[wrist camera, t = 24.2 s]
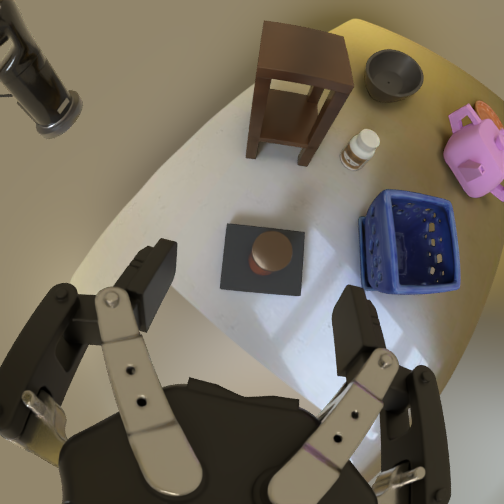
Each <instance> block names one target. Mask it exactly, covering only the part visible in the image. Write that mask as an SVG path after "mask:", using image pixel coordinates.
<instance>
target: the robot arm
mask: <svg viewBox="0 0 504 504" xmlns="http://www.w3.org/2000/svg"><path fill="white" fill-rule="evenodd" d="M9 39H10V40H11V41H12V45H11V47H10V49H9V50H8V52H7V53H6V55H5V56H4V57H3V59H2V61H1V62H0V82H1V83H2V84H3V85H4V86H5V88H6V89H7V90H8V91H9V92H10V93H11V94H6V95H0V97H14V98H15V99H16V100H17V103H18V105H19V106H20V107H21V108H22V109H23V110H24V111H25V112H26V113H27V114H28V116H30V118H31V119H33V121H34V122H35V123H36V124H37V125H40V126H41V127H42V128H43V129H50V128H53V127H55V126H57V125H58V124H60V123H61V122H62V121H63V120H64V119H65V118H66V117H67V116H68V114H69V113H70V111H71V110H72V108H73V105H74V98H73V96H72V95H71V94H70V93H69V91H68V90H67V88H66V87H65V86H64V84H63V82H62V81H61V79H60V78H59V76H58V75H57V73H56V72H55V70H54V69H53V68H52V66H51V64H50V63H49V62H48V60H47V58H46V57H45V55H44V54H43V52H42V50H41V49H40V47H39V45H38V44H37V42H36V41H35V39H34V37H33V36H32V34H31V32H30V30H29V29H28V27H27V25H26V23H25V21H24V19H23V16H22V14H21V12H20V10H19V8H18V6H17V4H16V2H15V0H0V47H1V46H2V45H3V44H4V43H5V42H7V41H8V40H9ZM176 258H177V242H175V241H171V240H167V239H163V238H161V239H160V240H159V241H158V242H157V244H156V245H155V246H154V247H150V246H147V247H145V248H144V249H142V250H140V251H139V252H138V253H137V255H136V256H135V257H134V260H132V261H131V263H130V265H129V266H128V267H127V268H126V269H125V271H124V272H123V274H122V275H121V276H120V278H119V279H118V280H117V282H116V283H115V285H114V286H113V287H107V288H104V289H102V290H101V291H99V292H98V294H97V295H83V294H78V293H77V289H76V288H75V287H74V286H73V285H71V284H68V283H61V284H58V285H56V286H54V287H52V288H51V289H50V291H49V292H48V293H47V295H46V296H45V297H44V299H43V300H42V302H41V303H40V304H39V306H38V307H37V308H36V310H35V311H34V313H33V314H32V316H31V317H30V319H29V320H28V322H27V323H26V325H25V326H24V328H23V329H22V331H21V333H20V334H19V336H18V337H17V339H16V341H15V342H14V344H13V346H12V348H11V349H10V351H9V352H8V354H7V356H6V358H5V360H4V361H3V363H2V365H1V367H0V435H1V436H2V437H3V438H5V439H6V440H8V441H10V442H11V443H14V444H15V445H16V446H18V447H20V448H23V449H25V450H27V451H29V452H31V453H34V454H35V455H37V456H38V457H40V458H42V459H43V460H45V461H47V462H48V463H50V464H52V465H54V466H56V467H57V468H59V472H60V477H61V482H62V491H63V500H62V504H448V502H449V500H450V497H451V478H450V463H449V453H448V444H447V436H446V429H445V422H444V416H443V411H442V405H441V400H440V395H439V391H438V386H437V382H436V378H435V375H434V373H433V372H432V371H431V370H430V369H429V368H428V367H426V366H424V365H419V366H417V367H415V368H414V369H413V370H409V369H407V368H404V367H402V366H400V365H399V363H398V360H397V358H396V356H395V355H394V354H393V353H392V352H391V351H389V350H388V349H386V345H385V341H384V337H383V333H382V330H381V326H380V322H379V319H378V315H377V311H376V308H375V307H374V305H373V304H372V303H371V301H370V300H367V299H366V295H365V291H364V289H363V288H361V287H357V286H353V285H347V286H346V287H345V289H344V291H343V293H342V294H341V296H340V298H339V300H338V302H337V303H336V305H335V307H334V309H333V313H332V326H333V334H334V344H335V354H336V365H337V376H343V377H346V382H345V383H344V384H343V386H342V387H341V388H340V389H339V391H338V392H337V393H336V394H335V396H334V397H333V398H332V399H331V400H330V402H329V403H328V404H327V405H326V406H325V408H324V409H323V410H322V411H321V412H320V413H319V414H318V415H317V416H316V417H315V416H314V415H313V414H311V413H310V412H308V411H306V410H305V409H303V408H300V407H299V399H292V398H285V397H278V396H262V397H261V396H260V397H243V396H241V395H238V394H236V393H234V392H232V391H230V390H227V389H225V388H223V387H221V386H219V385H217V384H213V383H209V382H205V381H201V380H198V379H194V378H190V377H189V380H188V384H175V385H169V386H166V387H161V384H160V382H159V379H158V377H157V374H156V372H155V369H154V366H153V364H152V361H151V358H150V356H149V353H148V350H147V347H146V344H145V342H144V339H143V336H142V335H140V332H139V330H140V331H143V332H146V333H147V331H148V329H149V327H150V325H151V323H152V321H153V319H154V317H155V314H156V313H157V311H158V308H159V307H160V305H161V303H162V301H163V299H164V297H165V295H166V293H167V291H168V289H169V287H170V285H171V283H172V281H173V279H174V276H175V272H176ZM89 344H90V345H101V346H102V351H103V355H104V360H105V364H106V368H107V372H108V376H109V379H110V383H111V386H112V390H113V393H114V397H115V400H116V403H117V406H118V409H119V412H117V413H116V414H113V415H112V416H110V417H108V418H106V419H104V420H102V421H100V422H99V423H97V424H95V425H93V426H91V427H89V428H87V429H85V430H83V431H81V432H79V433H77V434H75V435H73V436H72V437H70V438H69V439H67V437H66V434H65V426H66V416H65V413H64V411H63V409H62V408H61V405H62V402H63V400H64V397H65V395H66V392H67V390H68V388H69V386H70V383H71V381H72V379H73V377H74V374H75V372H76V370H77V368H78V366H79V364H80V362H81V359H82V357H83V355H84V353H85V351H86V349H87V347H88V345H89ZM409 408H411V416H412V425H411V427H410V425H409V416H408V409H409ZM379 413H380V429H381V474H380V475H379V476H378V477H377V479H376V481H375V483H374V484H373V486H372V488H371V487H370V485H369V484H368V483H367V482H366V480H365V479H364V478H363V477H362V475H361V474H360V473H359V472H358V470H357V469H356V468H355V466H354V465H353V464H352V463H351V461H350V460H349V459H350V457H351V456H352V454H353V453H354V452H355V450H356V449H357V447H358V446H359V444H360V443H361V441H362V440H363V438H364V437H365V435H366V434H367V432H368V431H369V429H370V428H371V426H372V424H373V423H374V421H375V419H376V418H377V416H378V414H379Z"/></svg>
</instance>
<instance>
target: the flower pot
mask: <svg viewBox="0 0 504 504" xmlns="http://www.w3.org/2000/svg"><path fill="white" fill-rule="evenodd" d="M408 203H411V204H408ZM394 205H395V206H394ZM392 206H393V207H392ZM425 209H430V210H428V211H426V210H425ZM398 210H401V211H398ZM434 213H435V214H436V217H435V218H434V217H433V215H434ZM424 219H426V221H424ZM439 220H440V221H441V222H439ZM429 223H434V225H435V231H432V232H429ZM358 226H359V244H360V266H361V285H362V288H363V289H364V290H365V291H379V292H382V293H386V294H400V295H412V294H431V293H440V292H447V291H453V290H457V289H459V288H460V259H459V248H458V239H457V232H456V225H455V218H454V213H453V208H452V204H451V202H450V201H448V200H446V199H442V198H438V197H434V196H429V195H425V194H420V193H416V192H410V191H403V190H395V189H386V190H383V191H382V192H381V193H380V194H379V195H378V196H377V197H376V198H375V199H374V201H373V202H372V204H371V205H370V207H369V209H368V212H367V215H366V217H365V216H361V217H359V219H358ZM425 235H427V238H425ZM440 238H442V241H440ZM431 239H435V246H432V245H431ZM429 252H430V253H431V256H429ZM438 254H441V255H442V262H440V263H437V255H438ZM431 267H434V268H435V272H434V274H433V275H432V274H430V270H431ZM443 271H444V275H442V272H443ZM437 280H438V282H437Z"/></svg>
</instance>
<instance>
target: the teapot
mask: <svg viewBox="0 0 504 504" xmlns="http://www.w3.org/2000/svg"><path fill="white" fill-rule="evenodd" d="M466 115H468V116H469V118H470V120H471V121H472V123H471V124H468V125H466V126H464V127H463V125H462V121H461V119H462V118H464V117H465V116H466ZM449 120H450V124H451V128H452V132H453V135H452V136H451V137H450V139H449V140H448V142H447V144H446V146H445V149H444V153H443V155H444V159H445V162H446V163H447V164H448V165H449V167H450V168H451V170H452V172H453V173H454V175H455V176H456V178H457V180H458V181H459V183H460V184H461V186H462V188H463V190H464V191H465V192H466V193H467V195H468V196H470V197H474V198H478V197H482V196H484V195H485V194H487V193H489V192H491V193H492V194H494V195H495V196H496V197H497V198H498V199H500V200H501V201H502V202H504V187H503V186H502V185H500V183H501V182H502V181H503V179H504V129H503V128H502V129H500V130H499V129H498V128H497V127H496V125H495V124H494V122H493V121H492V120H491V119H484V120H481V119H480V118H479V116H478V115H477V114H476V112H475V111H474V110H473V108H472V107H471V106H470V104H467V105H465V106H463V107H461V108H460V109H458V110H456V111H454V112H452V113H451V114H450V115H449Z"/></svg>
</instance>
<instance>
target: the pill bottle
mask: <svg viewBox="0 0 504 504" xmlns="http://www.w3.org/2000/svg"><path fill="white" fill-rule="evenodd" d="M379 144H380V140H379V137H378V136H377V134H376V133H375V132H374V131H372V130H370V129H363V130H362V131H361V132H360V133H359V134H358V135H355V136H354V137H353V138H352V139H351V140H350V141H349V143H348V144H347V145H346V147H345V148H344V149H343V150H342V152H341V155H340V158H341V161H342V163H343V164H344V166H345V167H347V168H348V169H350V170H359V169H360V168H361V167H363V166H364V165H365V164H366V163H367V162H368V161H369V160H370V159H371V158H372V157H373V155H374V154H375V149H376V148H377V147H378V146H379Z"/></svg>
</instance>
